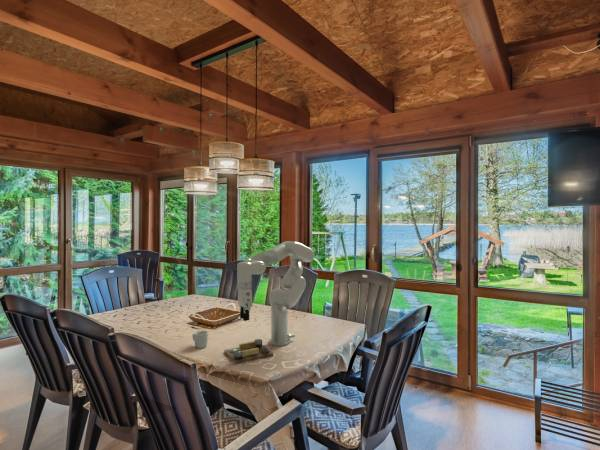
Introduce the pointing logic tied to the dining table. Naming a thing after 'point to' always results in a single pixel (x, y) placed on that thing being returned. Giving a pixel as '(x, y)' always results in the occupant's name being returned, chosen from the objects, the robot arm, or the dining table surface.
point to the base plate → (263, 353)
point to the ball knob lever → (251, 344)
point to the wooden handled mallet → (245, 353)
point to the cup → (200, 339)
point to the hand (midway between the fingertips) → (244, 319)
